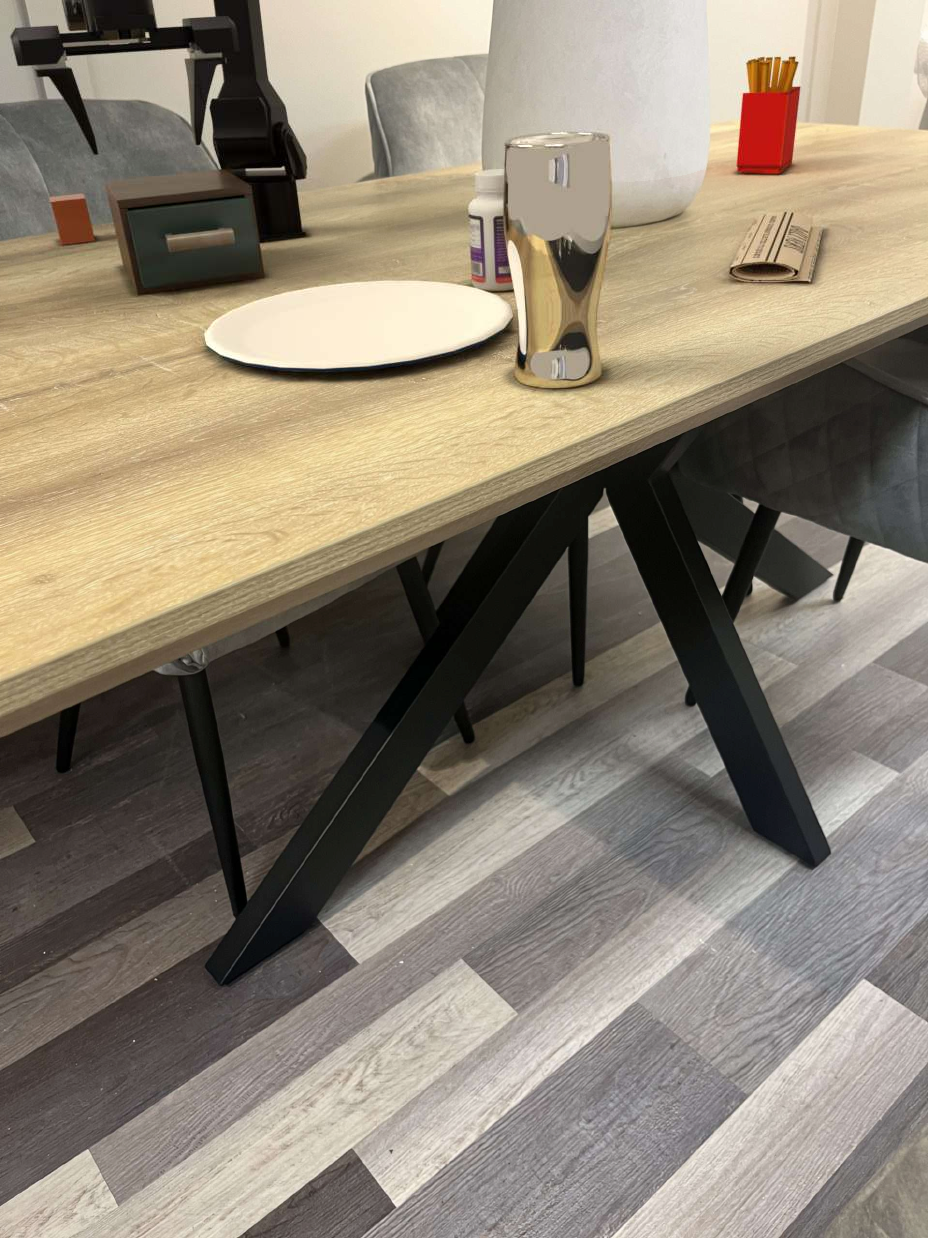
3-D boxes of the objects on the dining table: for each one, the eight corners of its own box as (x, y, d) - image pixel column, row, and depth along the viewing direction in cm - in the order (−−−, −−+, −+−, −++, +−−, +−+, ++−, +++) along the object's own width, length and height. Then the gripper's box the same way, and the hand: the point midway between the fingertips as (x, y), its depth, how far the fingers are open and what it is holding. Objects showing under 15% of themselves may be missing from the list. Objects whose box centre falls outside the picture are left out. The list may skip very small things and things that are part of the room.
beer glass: (502, 363, 72) (495, 135, 64) (597, 355, 72) (601, 128, 65) (514, 394, 66) (508, 148, 58) (617, 386, 66) (624, 140, 59)
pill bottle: (536, 278, 93) (535, 166, 88) (520, 293, 89) (518, 175, 84) (482, 277, 95) (477, 166, 90) (463, 291, 91) (458, 176, 86)
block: (93, 235, 125) (83, 193, 122) (95, 241, 122) (85, 197, 119) (60, 239, 124) (49, 196, 121) (61, 245, 121) (50, 201, 118)
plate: (181, 320, 87) (178, 306, 86) (444, 279, 95) (443, 266, 94) (243, 405, 67) (240, 387, 67) (568, 344, 75) (568, 328, 74)
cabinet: (265, 276, 100) (251, 185, 96) (137, 294, 96) (116, 200, 92) (238, 251, 112) (224, 168, 107) (123, 266, 108) (104, 181, 104)
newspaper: (754, 228, 108) (755, 210, 107) (822, 229, 105) (825, 211, 104) (727, 280, 89) (729, 260, 88) (810, 283, 87) (813, 262, 86)
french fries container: (731, 174, 140) (741, 60, 132) (745, 164, 147) (754, 56, 139) (782, 174, 137) (795, 58, 130) (794, 164, 144) (806, 54, 137)
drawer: (270, 280, 95) (259, 204, 91) (149, 297, 91) (132, 219, 88) (235, 248, 109) (224, 181, 105) (129, 261, 106) (114, 193, 102)
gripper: (203, -53, 92) (232, 133, 100) (-11, -45, 87) (38, 151, 95) (224, -62, 83) (254, 142, 91) (-13, -54, 78) (42, 162, 86)
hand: (147, 149), depth 91 cm, fingers open, 9 cm apart
